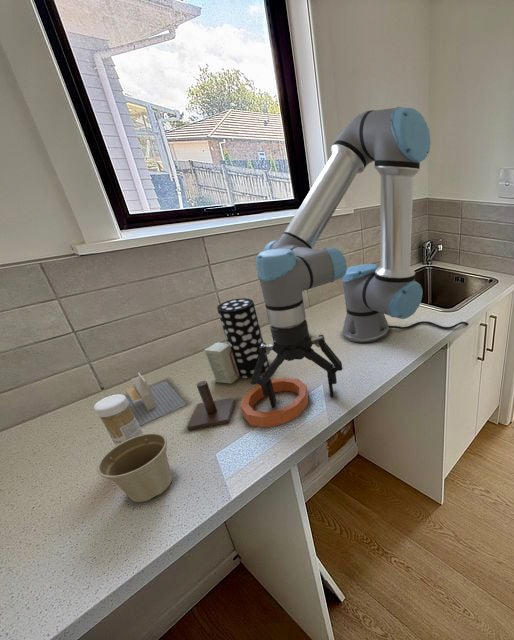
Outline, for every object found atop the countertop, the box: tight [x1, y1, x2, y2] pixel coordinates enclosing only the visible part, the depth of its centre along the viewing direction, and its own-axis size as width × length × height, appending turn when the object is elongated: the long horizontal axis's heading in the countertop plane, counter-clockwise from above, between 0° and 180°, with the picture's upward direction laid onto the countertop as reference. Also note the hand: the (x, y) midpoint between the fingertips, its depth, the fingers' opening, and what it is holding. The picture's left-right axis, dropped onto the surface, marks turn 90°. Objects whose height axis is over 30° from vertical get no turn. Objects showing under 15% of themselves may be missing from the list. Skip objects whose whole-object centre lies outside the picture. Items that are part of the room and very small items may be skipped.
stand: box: [186, 380, 236, 431], centre depth 76 cm, size 8×8×9 cm
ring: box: [240, 376, 309, 428], centre depth 80 cm, size 14×14×3 cm
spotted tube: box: [216, 297, 270, 379], centre depth 90 cm, size 8×8×20 cm
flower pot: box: [96, 432, 173, 503], centre depth 59 cm, size 9×9×9 cm
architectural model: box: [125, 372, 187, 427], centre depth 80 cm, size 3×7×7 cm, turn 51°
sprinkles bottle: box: [93, 393, 144, 447], centre depth 65 cm, size 5×5×13 cm
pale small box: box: [204, 341, 241, 384], centre depth 88 cm, size 5×4×10 cm
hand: (303, 399), depth 82 cm, fingers open, 13 cm apart
